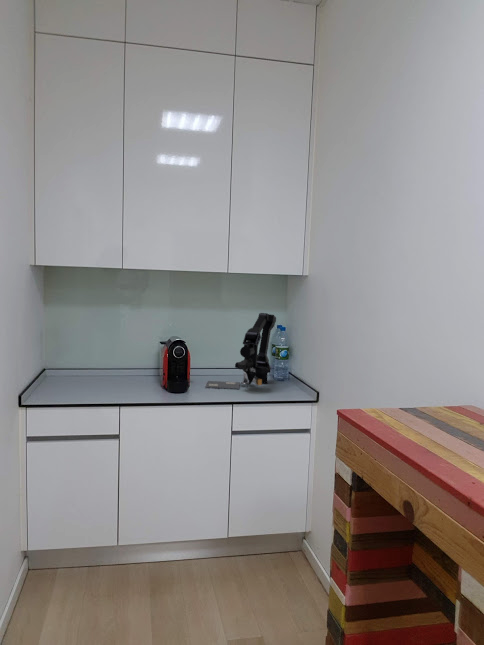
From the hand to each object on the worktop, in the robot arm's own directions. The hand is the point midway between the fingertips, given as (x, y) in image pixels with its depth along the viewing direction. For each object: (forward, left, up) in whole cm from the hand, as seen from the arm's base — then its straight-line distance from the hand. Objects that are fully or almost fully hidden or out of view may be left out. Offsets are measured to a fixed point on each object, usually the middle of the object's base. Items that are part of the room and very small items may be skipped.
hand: (250, 383), depth 267 cm
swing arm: (-1, -5, -2) cm, 5 cm away
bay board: (+15, -4, -3) cm, 16 cm away
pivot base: (+3, -12, -3) cm, 13 cm away
